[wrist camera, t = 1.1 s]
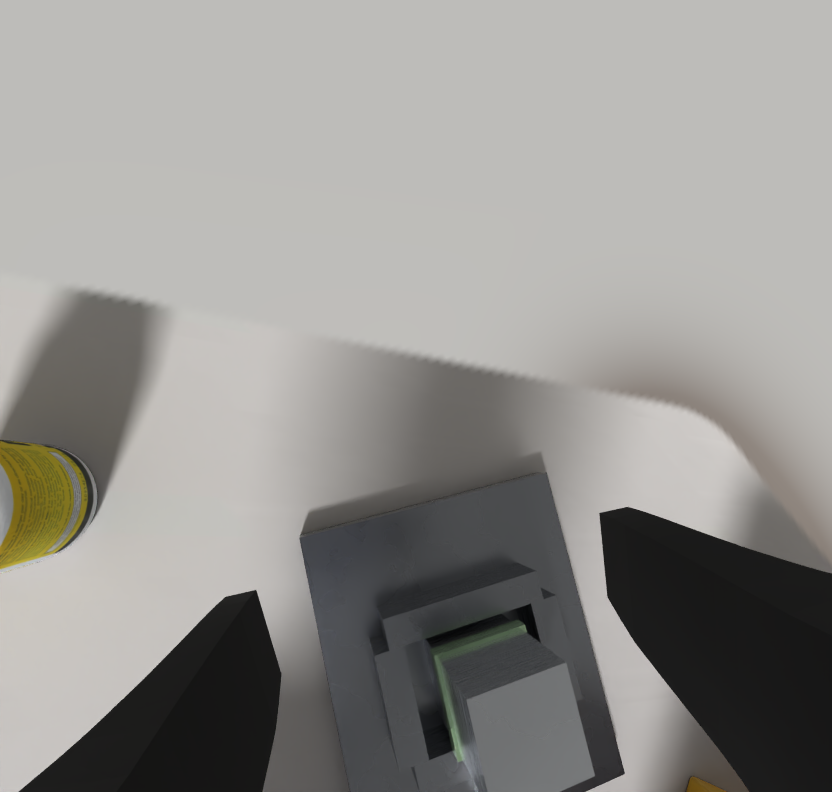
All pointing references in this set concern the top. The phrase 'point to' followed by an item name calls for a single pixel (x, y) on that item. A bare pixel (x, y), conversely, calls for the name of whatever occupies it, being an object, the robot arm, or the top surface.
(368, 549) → the stand base
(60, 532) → the supplement bottle
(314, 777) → the top surface
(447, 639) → the gray slotted block
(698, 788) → the supplement box
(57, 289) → the top surface
